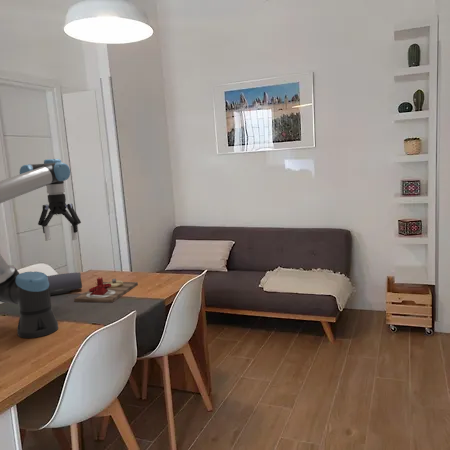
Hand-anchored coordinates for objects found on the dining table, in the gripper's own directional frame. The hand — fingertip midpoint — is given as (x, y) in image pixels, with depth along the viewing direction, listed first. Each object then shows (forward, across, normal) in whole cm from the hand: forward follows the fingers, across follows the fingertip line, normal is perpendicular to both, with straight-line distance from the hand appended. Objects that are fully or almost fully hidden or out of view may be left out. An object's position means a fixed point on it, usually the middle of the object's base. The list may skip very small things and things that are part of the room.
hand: (61, 240), depth 205 cm
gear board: (+31, -9, -22) cm, 39 cm away
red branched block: (+30, -8, -16) cm, 35 cm away
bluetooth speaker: (+32, +18, -21) cm, 42 cm away
